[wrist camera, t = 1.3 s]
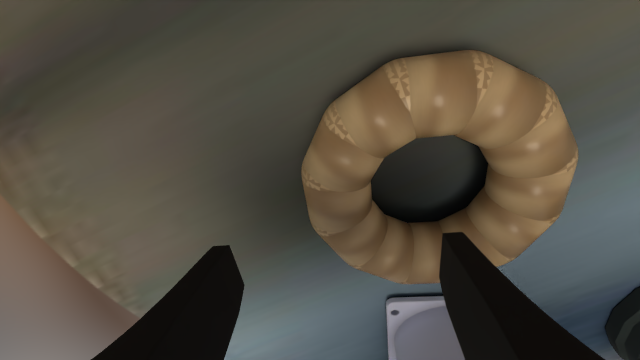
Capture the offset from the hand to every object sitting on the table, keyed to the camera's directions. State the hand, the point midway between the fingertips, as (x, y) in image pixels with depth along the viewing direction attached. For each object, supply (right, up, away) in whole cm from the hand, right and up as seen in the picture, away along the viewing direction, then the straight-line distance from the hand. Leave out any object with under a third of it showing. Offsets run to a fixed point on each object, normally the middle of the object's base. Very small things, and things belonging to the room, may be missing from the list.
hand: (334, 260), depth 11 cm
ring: (+4, +3, +3) cm, 6 cm away
